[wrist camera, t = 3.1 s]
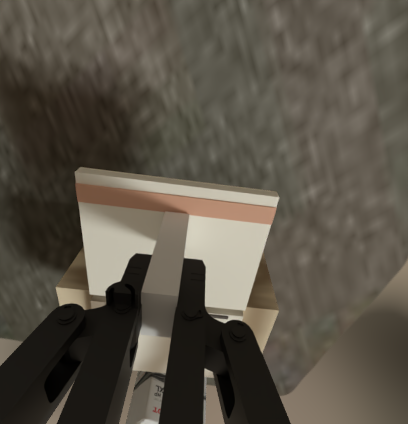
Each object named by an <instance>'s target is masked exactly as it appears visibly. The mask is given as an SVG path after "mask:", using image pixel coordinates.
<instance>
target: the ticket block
mask: <svg viewBox="0 0 408 424" xmlns="http://www.w3.org/2000/svg"><path fill="white" fill-rule="evenodd" d="M56 290H57V295H58V300H59V305H60V306H62V305H64V304H70V303H74V304H78V305H80V306H82V307H83V309H84V310H88V309H94V308H98V307H102V306H104V305H106V296H99V295H90V292H89V284H88V276H87V268H86V260H85V252H84V246H83V247H82V249H81V250H80V252H79V253H78V255H77V256H76V258H75V259H74V261H73V262H72V264H71V265H70V267H69V268H68V270H67V271H66V273H65V274H64V276H63V277H62V279H61V280H60V282H59V283H58V285H57V286H56ZM205 308H206V310H207V312H208V313H209V315H210V316H211V317H213V318H214V319H216V320H218V321H221V322H223V323H226V322H227V321H230V320H240V321H243V322H245V323H246V324H247V325H249V326H250V328H251V329H252V331H253V333H254V335H255V337H256V340H257V342H258V345H259V347H260V350H261V352H263V350H264V347H265V345H266V342H267V340H268V337H269V335H270V332H271V330H272V327H273V324H274V322H275V319H276V317H277V314H278V312H279V309H278V305H277V301H276V298H275V294H274V290H273V287H272V283H271V279H270V275H269V272H268V268H267V264H266V261H265V257H264V253H262V257H261V260H260V263H259V267H258V270H257V273H256V277H255V280H254V283H253V287H252V290H251V293H250V297H249V300H248V303H247V307H246V310H245V311H243V310H234V309H224V308H215V307H205ZM170 342H171V338H168V337H158V336H148V335H141V330H140V334H139V338H138V349H137V353H136V357H135V361H134V365H133V369H132V370H137V371H147V372H157V373H166V369H167V362H168V355H169V348H170ZM204 377H212V378H214V375H213V372H212V371H209V370H207V369H205V372H204Z"/></svg>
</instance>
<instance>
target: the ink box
mask: <svg viewBox="0 0 408 424" xmlns="http://www.w3.org/2000/svg"><path fill="white" fill-rule="evenodd" d="M165 376H166V373H157V372H147V371H138V374H137V378H136V383H135V387H134V391H133V395H132V399H131V403H130V407H129V412H128V416H127V421H126V424H158V423H159V416H160V410H161V403H162V396H163V389H164V382H165ZM205 411H206V377H204V412H203V424H205V415H206V413H205Z"/></svg>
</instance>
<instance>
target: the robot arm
mask: <svg viewBox="0 0 408 424" xmlns="http://www.w3.org/2000/svg"><path fill="white" fill-rule="evenodd" d="M189 215H190V214H185V213H176V212H168V211H165V214H164V217H163V221H162V224H161V227H160V231H159V234H158V237H157V241H156V244H155V247H154V251H153V254H152V255H149V254H140V253H136V254H135V255H133V256H132V257H131V258H130V259H129V262H128V264H127V267H126V269H125V272H124V274H123V277H122V279H121V281H119V282H116V283H113V284H112V285H110V286H109V287H108V288H107V290H106V291H105V294H106V305H104V306H102V307H98V308H94V309H88V310H84V309H83V307H82V306H80V305H78V304H74V303H70V304H64V305H62V306H59V307H57V308H56V309H55V310H54V311H52V312H51V313H50V314H49V315H48V316H47V318H46V319H45V320H44V321H43V322H42V323H41V324H40V325H39V326H38V327H37V328H36V329H35V330H34V331H33V332H32V333H31V334H30V335H29V336H28V337H27V339H26V340H25V341H24V342H23V343H22V344H21V345H20V346H19V347H18V348H17V349H16V350H15V351H14V352H13V353H12V354H11V355H10V356H9V357H8V358H7V360H6V361H5V362H4V363H3V364H2V365H1V366H0V424H46V423H47V421H48V420H49V418H50V417H51V415H52V414H53V412H54V411H55V409H56V408H57V406H58V405H59V403H60V402H61V400H62V399H63V397H64V396H65V394H66V393H67V391H68V390H69V388H70V387H71V385H72V384H73V382H74V381H75V382H74V384H73V386H72V389H71V391H70V393H69V396H68V398H67V401H66V403H65V405H64V408H63V410H62V413H61V415H60V418H59V420H58V422H57V424H119V420H120V417H121V413H122V409H123V405H124V401H125V397H126V393H127V389H128V385H129V381H130V377H131V373H132V369H133V365H134V361H135V357H136V353H137V349H138V338H139V334H140V330H141V335H148V336H158V337H168V338H171V342H170V348H169V355H168V362H167V369H166V376H165V382H164V389H163V396H162V403H161V410H160V416H159V423H158V424H203V412H204V372H205V369H207V370H209V371H212V372H213V375H214V380H215V384H216V388H217V392H218V397H219V401H220V405H221V410H222V414H223V418H224V422H225V424H291V423H290V421H289V418H288V416H287V413H286V411H285V409H284V406H283V404H282V401H281V399H280V396H279V394H278V391H277V389H276V386H275V384H274V382H273V379H272V377H271V374H270V372H269V369H268V367H267V364H266V362H265V360H264V357H263V355H262V352H261V350H260V347H259V345H258V342H257V340H256V337H255V335H254V333H253V331H252V329H251V328H250V326H249V325H247V324H246V323H245V322H243V321H240V320H230V321H227V322H226V323H223V322H221V321H218V320H216V319H214V318H213V317H211V316H210V315H209V313H208V312H207V310H206V308H205V280H206V266H205V264H204V262H203V261H202V260H198V259H189V258H184V257H185V249H186V241H187V232H188V223H189Z"/></svg>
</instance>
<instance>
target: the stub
mask: <svg viewBox="0 0 408 424" xmlns="http://www.w3.org/2000/svg"><path fill="white" fill-rule="evenodd" d="M75 179H76V183H75V186H76V194H77V202H78V203H79V211H80V220H81V228H82V236H83V244H84V252H85V260H86V268H87V276H88V284H89V292H90V295H99V296H106V294H105V291H106V290H107V288H108V287H109V286H110V285H112V284H113V283H116V282H119V281H121V279H122V277H123V274H124V272H125V269H126V267H127V264H128V262H129V259H130V258H131V257H132V256H133V255H135V254H136V253H140V254H149V255H152V254H153V251H154V247H155V244H156V241H157V237H158V234H159V231H160V227H161V224H162V221H163V217H164V214H165V211H168V212H176V213H185V214H190V215H189V223H188V232H187V241H186V249H185V257H184V258H189V259H198V260H202V261H203V262H204V264H205V266H206V280H205V307H215V308H224V309H234V310H243V311H245V310H246V307H247V303H248V300H249V297H250V293H251V290H252V287H253V283H254V280H255V277H256V273H257V270H258V267H259V263H260V260H261V257H262V253H263V250H264V247H265V243H266V240H267V237H268V233H269V230H270V227H271V225H272V222H273V219H274V215H275V212H276V209H277V208H276V207H277V203H278V200H279V196H278V194H277V192H276V191H269V190H261V189H253V188H245V187H237V186H229V185H221V184H213V183H205V182H197V181H189V180H181V179H173V178H165V177H157V176H149V175H141V174H133V173H125V172H117V171H109V170H101V169H93V168H85V167H80V168H79V169H77V170H76V171H75Z"/></svg>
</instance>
